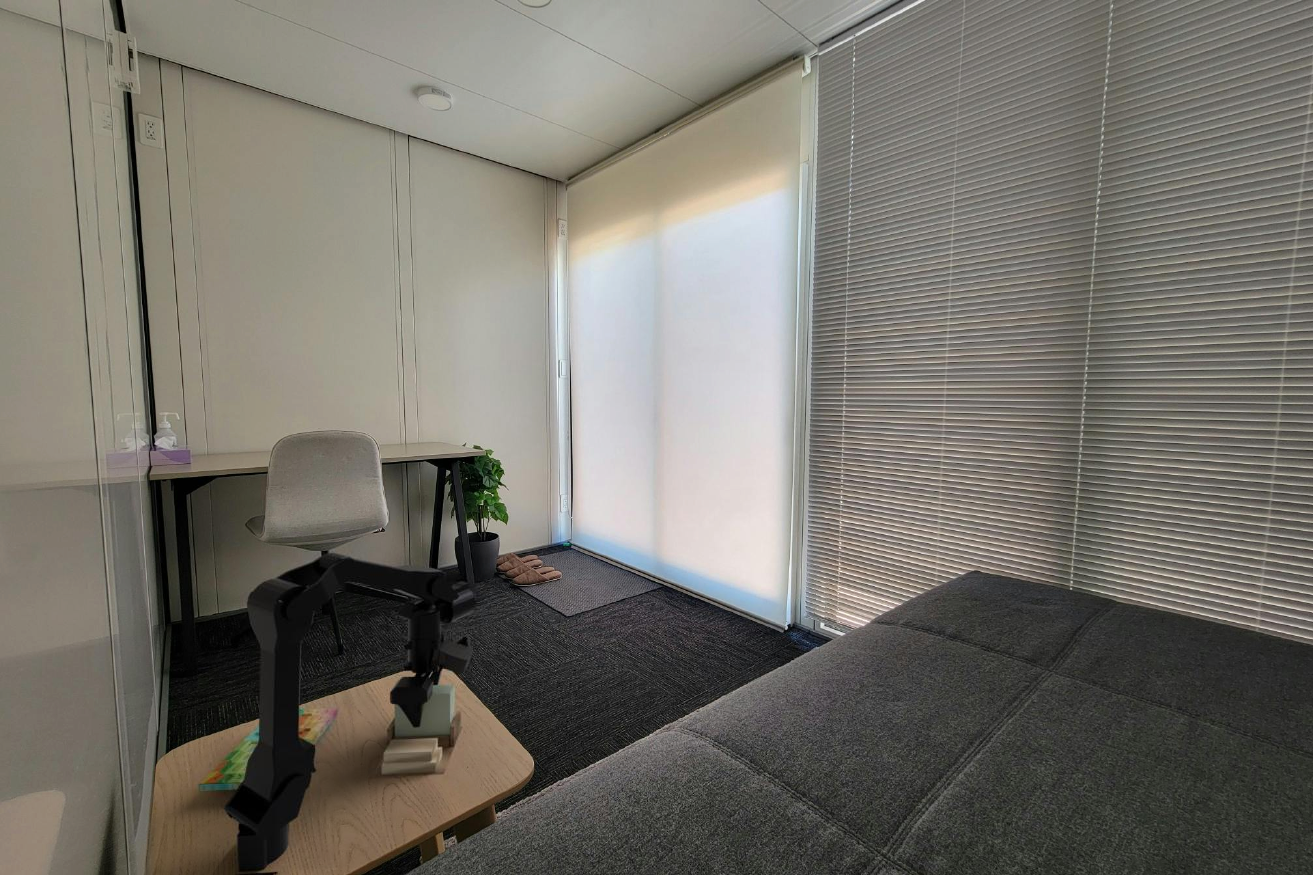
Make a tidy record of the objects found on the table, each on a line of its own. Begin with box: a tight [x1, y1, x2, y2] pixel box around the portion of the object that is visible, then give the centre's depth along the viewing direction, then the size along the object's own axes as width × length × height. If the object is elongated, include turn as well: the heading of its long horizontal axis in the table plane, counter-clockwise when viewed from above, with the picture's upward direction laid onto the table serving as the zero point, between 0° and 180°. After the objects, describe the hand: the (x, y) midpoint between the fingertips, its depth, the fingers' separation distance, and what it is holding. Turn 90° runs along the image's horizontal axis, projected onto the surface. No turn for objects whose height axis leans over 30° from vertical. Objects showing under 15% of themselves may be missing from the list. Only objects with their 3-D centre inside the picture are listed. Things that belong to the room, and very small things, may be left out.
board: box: [394, 684, 455, 737], centre depth 100 cm, size 3×10×10 cm, turn 97°
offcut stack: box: [382, 738, 442, 775], centre depth 94 cm, size 4×9×4 cm, turn 97°
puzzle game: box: [198, 708, 339, 792], centre depth 95 cm, size 12×5×20 cm
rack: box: [371, 710, 463, 778], centre depth 98 cm, size 13×12×5 cm
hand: (424, 711), depth 100 cm, fingers open, 9 cm apart
